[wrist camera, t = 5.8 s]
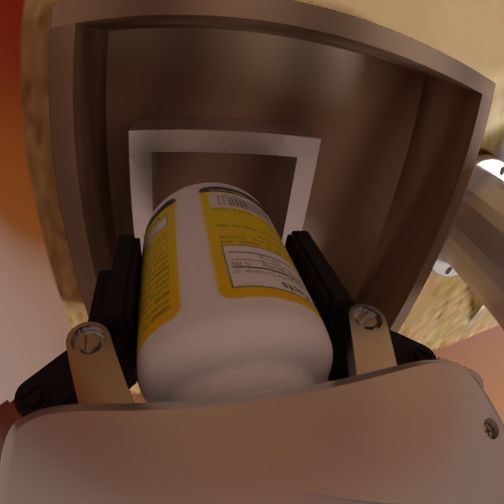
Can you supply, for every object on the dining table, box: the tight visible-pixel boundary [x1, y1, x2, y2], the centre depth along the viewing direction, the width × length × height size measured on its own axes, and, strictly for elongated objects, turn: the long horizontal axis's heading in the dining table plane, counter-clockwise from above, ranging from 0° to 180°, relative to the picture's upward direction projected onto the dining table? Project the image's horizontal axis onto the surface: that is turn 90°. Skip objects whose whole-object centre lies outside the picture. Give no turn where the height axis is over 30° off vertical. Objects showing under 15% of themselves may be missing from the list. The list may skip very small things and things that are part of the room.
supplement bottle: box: [137, 182, 333, 403], centre depth 10 cm, size 5×5×10 cm
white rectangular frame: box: [129, 117, 321, 253], centre depth 16 cm, size 8×8×3 cm
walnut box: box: [49, 0, 496, 333], centre depth 16 cm, size 20×20×6 cm
